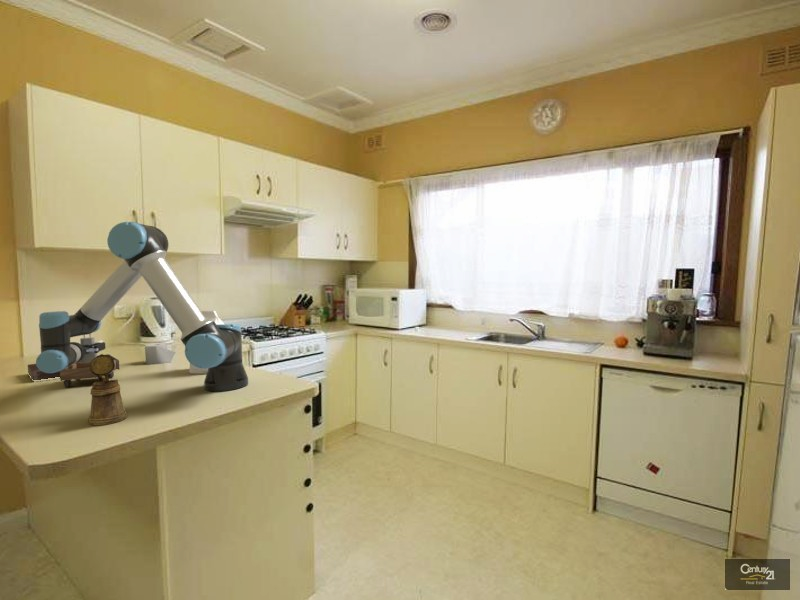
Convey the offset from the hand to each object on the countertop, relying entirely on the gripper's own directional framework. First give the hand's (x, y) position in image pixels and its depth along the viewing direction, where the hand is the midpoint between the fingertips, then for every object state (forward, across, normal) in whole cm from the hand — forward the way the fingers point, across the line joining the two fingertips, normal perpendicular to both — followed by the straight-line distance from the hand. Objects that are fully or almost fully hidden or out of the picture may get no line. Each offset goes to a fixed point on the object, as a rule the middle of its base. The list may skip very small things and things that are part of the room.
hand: (92, 343), depth 167 cm
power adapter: (-5, 0, -7) cm, 8 cm away
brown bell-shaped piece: (-57, +20, -14) cm, 62 cm away
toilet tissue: (+26, +18, -15) cm, 35 cm away
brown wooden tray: (+19, -13, -15) cm, 27 cm away
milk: (-2, +43, -14) cm, 46 cm away
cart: (-5, 0, -14) cm, 15 cm away
